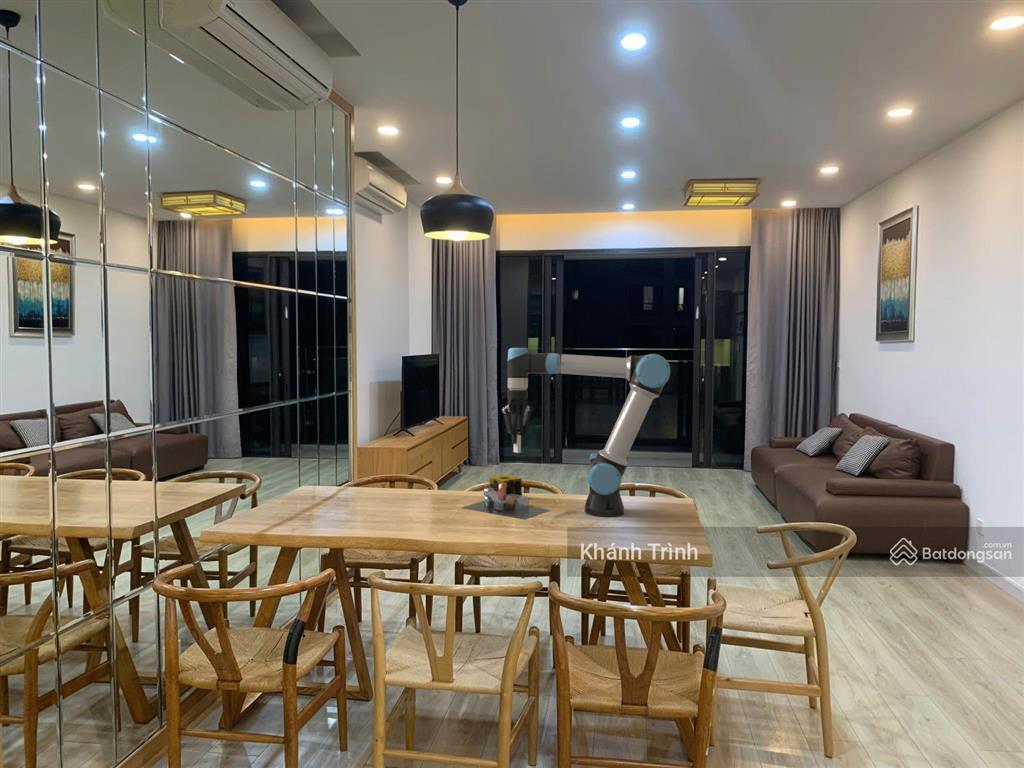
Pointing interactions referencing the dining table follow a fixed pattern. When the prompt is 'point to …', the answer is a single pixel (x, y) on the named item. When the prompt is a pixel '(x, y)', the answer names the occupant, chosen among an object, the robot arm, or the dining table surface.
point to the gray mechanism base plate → (519, 512)
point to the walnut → (510, 502)
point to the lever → (497, 495)
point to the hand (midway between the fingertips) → (517, 452)
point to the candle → (507, 484)
